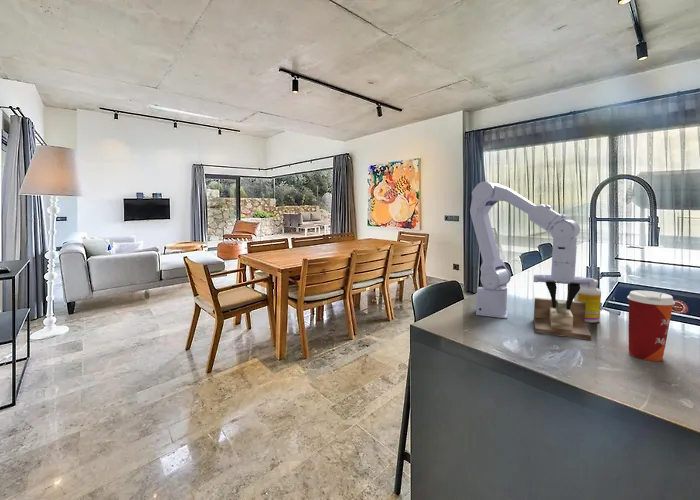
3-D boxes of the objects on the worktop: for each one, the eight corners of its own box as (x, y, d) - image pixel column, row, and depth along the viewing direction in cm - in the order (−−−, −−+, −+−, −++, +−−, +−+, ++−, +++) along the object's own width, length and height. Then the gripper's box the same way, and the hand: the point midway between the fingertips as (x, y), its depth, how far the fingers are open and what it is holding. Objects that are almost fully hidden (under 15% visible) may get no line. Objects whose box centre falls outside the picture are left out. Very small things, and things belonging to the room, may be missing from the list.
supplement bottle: (603, 324, 98) (606, 282, 96) (579, 323, 99) (581, 281, 98) (592, 316, 104) (594, 277, 103) (569, 316, 106) (571, 277, 104)
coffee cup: (674, 366, 71) (681, 300, 69) (626, 358, 76) (631, 296, 74) (663, 352, 78) (669, 291, 77) (619, 345, 83) (624, 288, 81)
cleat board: (535, 332, 93) (536, 307, 92) (533, 319, 103) (534, 297, 102) (591, 339, 87) (592, 313, 86) (583, 325, 97) (584, 301, 96)
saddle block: (551, 327, 93) (552, 304, 92) (549, 319, 99) (550, 297, 98) (572, 330, 90) (573, 306, 89) (568, 321, 97) (570, 299, 96)
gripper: (535, 262, 93) (532, 308, 94) (597, 265, 86) (594, 315, 88) (534, 259, 99) (532, 302, 100) (592, 261, 92) (589, 307, 94)
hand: (560, 307), depth 94 cm, fingers open, 3 cm apart
